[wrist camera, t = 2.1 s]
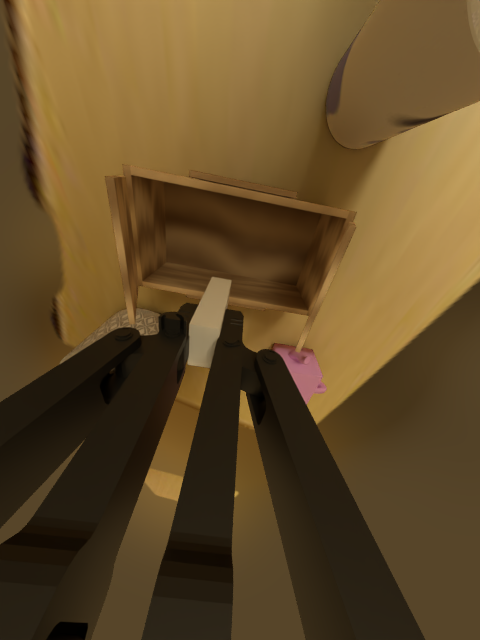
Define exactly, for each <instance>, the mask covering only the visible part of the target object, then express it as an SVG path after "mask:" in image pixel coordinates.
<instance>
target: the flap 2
mask: <svg viewBox="0 0 480 640" xmlns="http://www.w3.org/2000/svg"><path fill="white" fill-rule="evenodd" d="M355 229H356V225H355V223H354V222H349V225H348V227H347V229H346V232H345V234H344V236H343V239H342V241H341V243H340V246H339V248H338V250H337V253H336V255H335V257H334V260H333V262H332V264H331V267H330V269H329V271H328V274H327V276H326V278H325V281H324V283H323V285H322V288H321V290H320V292H319V295H318V297H317V299H316V302H315V304H314V306H313V309H312V311H311V313H310V316H309V318H308V320H307V323H306V325H305V328H304V330H303V332H302V335H301V337H300V340H299V342H298V344H297V347H296V349H295V351H296V352H298V353H300V351H301V348H302V346H303V344H304V342H305V340H306V337H307V335H308V333H309V331H310V329H311V326H312V324H313V322H314V320H315V317H316V315H317V313H318V311H319V309H320V306H321V304H322V302H323V300H324V298H325V295H326V293H327V291H328V289H329V286H330V284H331V282H332V280H333V278H334V275H335V273H336V271H337V269H338V267H339V264H340V262H341V260H342V258H343V256H344V253H345V251H346V249H347V247H348V244H349V242H350V240H351V238H352V236H353V233H354V231H355Z"/></svg>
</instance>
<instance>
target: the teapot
mask: <svg viewBox="0 0 480 640" xmlns="http://www.w3.org/2000/svg"><path fill="white" fill-rule="evenodd" d="M295 349H296V347H295V346H289V345H283V344H277V343H274V346H273V349H272V350H273V351H275V352H277V353H278V354H280V355H281V357H282V358H283V360H284V362H285V364H286V366H287V368H288V370H289V372H290V374H291V376H292V378H293V380H294V382H295V383H296V385H297V387H298V389H299V391H300V393H301V395H302V397H303V399H304V401H305V403H306V405H307V403H308V401H309V400H310V398H311V396H312V395H313V393H324V392H325V391H326V389H327V388H326V386H325V385H324V384H323V383H322V382H321V379H322V377H323V375H322V373H321V370H320V368H319V365H318V362H317V360H316V357H315V355H314V352H313V350H312V349H307V348H301V351H300V353H298V352H296V351H295ZM317 387H318V388H317Z"/></svg>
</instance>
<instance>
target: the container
mask: <svg viewBox="0 0 480 640" xmlns="http://www.w3.org/2000/svg"><path fill="white" fill-rule="evenodd" d="M478 101H480V0H380V1H379V3H378V4H377V6H376V7H375V9H374V10H373V12H372V13H371V15H370V16H369V18H368V20H367V21H366V23H365V24H364V26H363V27H362V29H361V30H360V32H359V33H358V35H357V36H356V38H355V39H354V41H353V42H352V44H351V45H350V47H349V48H348V50H347V51H346V53H345V54H344V56H343V57H342V59H341V60H340V62H339V64H338V66H337V68H336V70H335V72H334V74H333V77H332V79H331V82H330V86H329V89H328V94H327V101H326V117H327V123H328V127H329V129H330V132H331V134H332V136H333V137H334V139H335V140H336V141H337V142H338V143H339V144H341V145H342V146H344V147H346V148H350V149H362V148H366V147H368V146H371V145H373V144H376V143H378V142H381V141H383V140H386V139H388V138H391V137H393V136H395V135H398V134H400V133H403V132H405V131H408V130H410V129H412V128H415V127H417V126H420V125H422V124H425V123H427V122H430V121H432V120H434V119H437V118H439V117H442V116H444V115H446V114H449V113H451V112H453V111H456V110H459V109H461V108H464V107H466V106H469V105H471V104H473V103H476V102H478Z"/></svg>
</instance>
